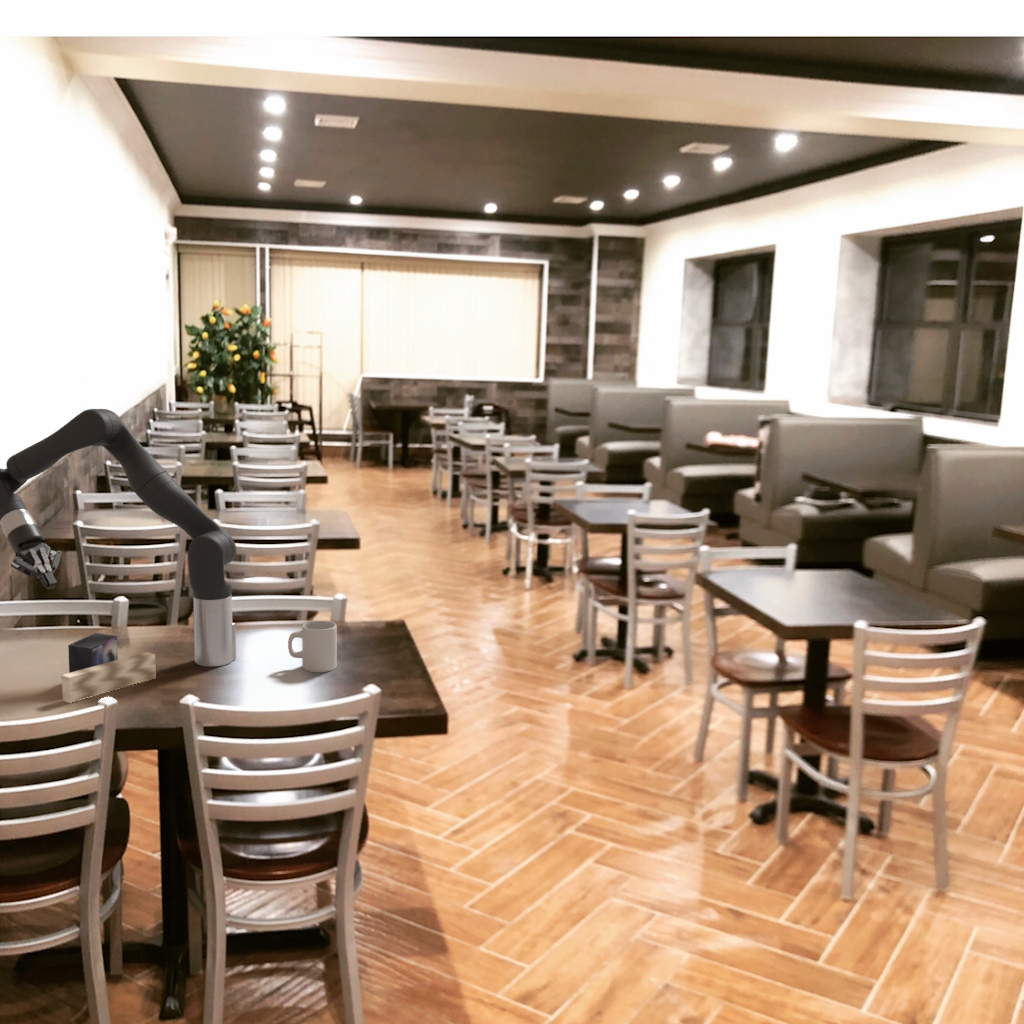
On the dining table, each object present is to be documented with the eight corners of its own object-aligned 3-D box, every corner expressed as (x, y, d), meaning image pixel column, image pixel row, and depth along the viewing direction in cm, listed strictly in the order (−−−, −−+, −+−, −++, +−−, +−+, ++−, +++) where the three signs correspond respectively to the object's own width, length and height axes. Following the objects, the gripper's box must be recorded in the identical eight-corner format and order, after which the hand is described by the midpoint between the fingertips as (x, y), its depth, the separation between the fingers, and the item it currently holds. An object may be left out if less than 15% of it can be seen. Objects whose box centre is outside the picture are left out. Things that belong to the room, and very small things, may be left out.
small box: (93, 691, 232) (91, 647, 230) (68, 688, 234) (66, 645, 232) (120, 676, 242) (118, 634, 241) (96, 674, 244) (94, 632, 242)
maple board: (148, 675, 243) (147, 651, 242) (156, 678, 242) (155, 654, 241) (62, 700, 226) (61, 674, 225) (70, 703, 224) (69, 677, 223)
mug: (336, 661, 259) (336, 620, 257) (337, 672, 250) (337, 629, 249) (288, 662, 256) (288, 621, 254) (287, 673, 248) (287, 630, 246)
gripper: (0, 526, 244) (31, 583, 239) (52, 519, 254) (82, 573, 250) (-10, 544, 248) (20, 601, 243) (42, 536, 258) (71, 590, 253)
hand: (52, 587), depth 246 cm, fingers closed
